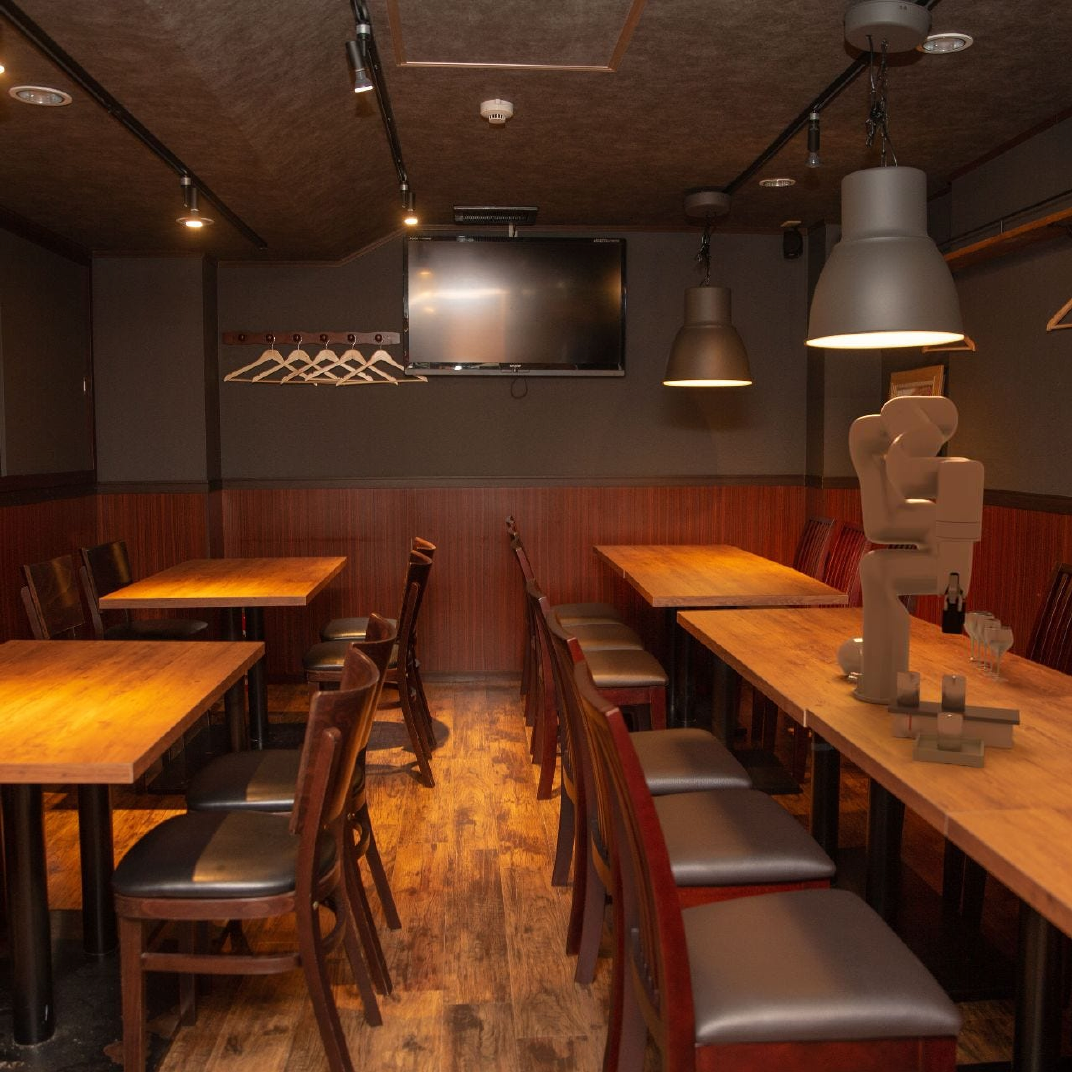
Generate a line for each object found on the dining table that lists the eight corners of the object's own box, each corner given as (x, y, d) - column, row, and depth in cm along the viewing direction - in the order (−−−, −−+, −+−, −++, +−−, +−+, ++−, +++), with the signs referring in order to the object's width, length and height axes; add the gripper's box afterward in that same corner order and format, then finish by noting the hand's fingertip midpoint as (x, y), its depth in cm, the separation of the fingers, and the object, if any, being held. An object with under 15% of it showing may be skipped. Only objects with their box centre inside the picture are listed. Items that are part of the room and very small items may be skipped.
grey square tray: (912, 759, 179) (912, 748, 179) (917, 743, 189) (917, 732, 189) (983, 767, 174) (983, 756, 174) (984, 750, 184) (984, 739, 184)
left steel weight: (892, 704, 196) (893, 672, 195) (905, 701, 198) (906, 669, 198) (910, 708, 193) (911, 676, 192) (923, 705, 195) (924, 673, 194)
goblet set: (958, 658, 267) (959, 606, 266) (982, 659, 266) (983, 606, 265) (988, 682, 239) (990, 624, 238) (1015, 683, 238) (1017, 625, 237)
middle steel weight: (936, 708, 193) (937, 676, 192) (949, 705, 195) (950, 673, 194) (956, 712, 189) (957, 680, 189) (969, 709, 192) (970, 677, 191)
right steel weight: (931, 749, 182) (932, 714, 181) (944, 745, 184) (945, 711, 184) (953, 754, 179) (954, 719, 178) (966, 750, 181) (967, 715, 180)
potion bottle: (831, 680, 246) (898, 691, 244) (839, 663, 238) (908, 674, 236) (834, 645, 251) (899, 654, 249) (841, 627, 243) (908, 637, 240)
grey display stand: (886, 736, 193) (887, 708, 193) (891, 725, 201) (891, 698, 200) (1018, 750, 184) (1019, 720, 184) (1018, 738, 192) (1019, 710, 192)
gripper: (938, 525, 192) (934, 618, 194) (931, 535, 176) (926, 635, 178) (983, 527, 189) (978, 621, 191) (979, 537, 173) (974, 639, 175)
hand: (953, 628), depth 185 cm, fingers open, 9 cm apart
